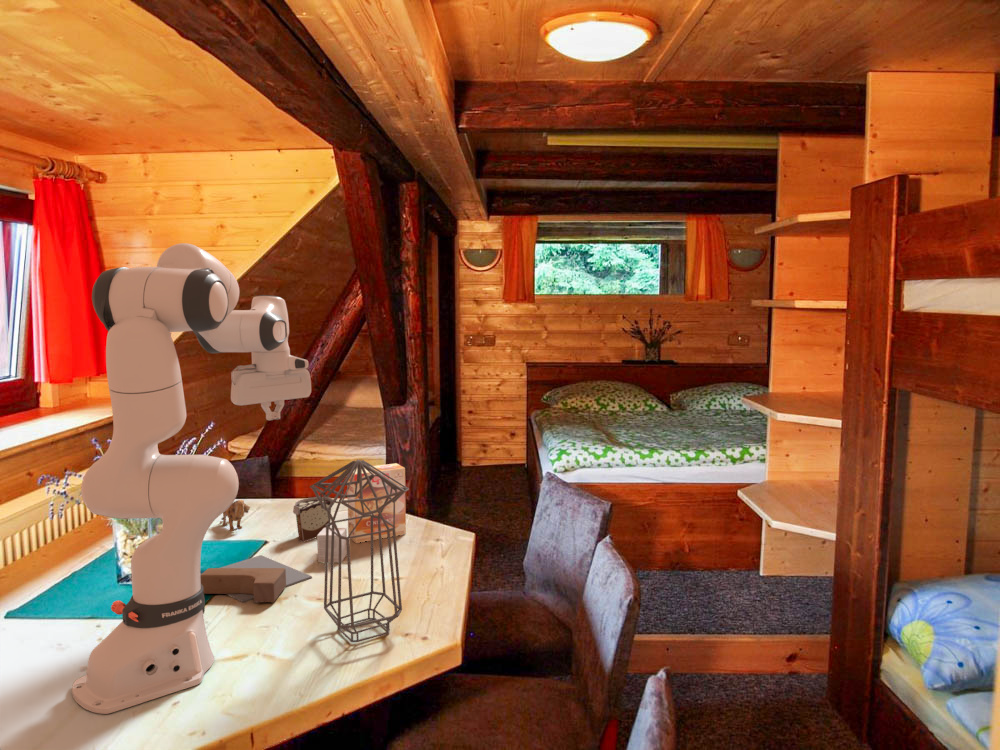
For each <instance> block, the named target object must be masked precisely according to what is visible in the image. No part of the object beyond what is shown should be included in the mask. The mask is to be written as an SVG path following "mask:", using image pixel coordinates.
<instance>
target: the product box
mask: <svg viewBox="0 0 1000 750" xmlns="http://www.w3.org/2000/svg"><path fill="white" fill-rule="evenodd" d="M330 528H331V529H332V527H330ZM337 528H338V530H339V532H340V534H341V536H344V537H348V535H347V533H348V530H347V527H337ZM334 531H335V532H336V530H335V528H334ZM336 533H337V532H336ZM331 538H332V531H331V530H330V529H329V538H328V564H331ZM316 540H317V541H316V542H317V544H316V545H317V561H318V562H325V549H326V528H323V529H322V531H321V532H320V533H319V534H318V535H317V538H316ZM345 558H347V545H346V540H344V539H342V557H341V563H342V562H343V561H344V559H345ZM329 562H330V563H329ZM335 563H336V564H337V563H338V564H339V537H338V536H336V535H335V534H334V559H333V564H335Z"/></svg>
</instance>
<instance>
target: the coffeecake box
mask: <svg viewBox="0 0 1000 750" xmlns="http://www.w3.org/2000/svg"><path fill="white" fill-rule="evenodd" d="M373 466H374V467H375V468H377V469H378V470H380V471H382V472H383V473H385V474H386V475H388V476H390V477H391V478H393V479H394V480H396V481H398V482H399V483H401V484H402V485H404V486H406V468H405V467H404V466H402V465H400V464H399V463H396V462H395V463H389V464H388V463H387V464H377V465H373ZM370 467H371V466H370ZM373 469H374V468H373ZM374 470H375V469H374ZM354 471H355V470H354ZM365 471H366V473H367V475H368V476H369V475H372V474H371V473H369V472H368V471H367V470H366V469H365ZM376 471H377V470H376ZM377 472H379V471H377ZM353 473H354V472H353ZM353 473H352V475H353ZM379 473H380V472H379ZM373 474H374V473H373ZM380 474H382V473H380ZM352 475H351V477H350V478H349V480H348V482H350V480H351V478H352ZM374 475H375V474H374ZM382 475H383V474H382ZM383 476H385V475H383ZM363 477H365V475H364V473H363V471H362V478H363ZM385 477H386V478H388V477H387V476H385ZM388 479H389V480H391V479H390V478H388ZM353 481H357V470H356V472H355V475H354V477H353V479H352V482H353ZM391 481H392V482H394V483H395V484H397V485H398V486H399V487H403V486H401V485H399V484H398V483H396V482H395V481H393V480H391ZM348 482H347V483H348ZM366 482H367V480H363V481H362V486H363V485H364V484H365V483H366ZM370 482H371V484H372V486H373V488H374V490H375V493H376V495H377V497H381V496H385V495H387V494H386V491H385V488H384V486H383V483H382V480H381V479H380V478H379V477H378V476H374V478H373V479H372V480H371V481H370ZM346 486H347V487H348V485H346ZM355 486H356V484H351V485H350V487H349V489H348V491H347V494H346V495H351V494H355ZM386 486H387V489H388V492H389V494H390V491H391V487H390V486H389V485H387V484H386ZM359 490H360V487H359V483H358V484H357V492H358V491H359ZM399 491H400V490H398V489H397V492H399ZM392 493H395V490H393V489H392ZM358 496H359V497H360V493H359V495H358ZM358 496H356V497H347V500H350V499H359V498H358ZM393 497H394V496H392V498H393ZM368 498H375V497H374V495H373V493H372V491H371V488H370V486H369V484H368V485H367V486H366V487H365V488H364V489H363V499H368ZM385 500H386V498H385V499H381V500H378V508H379V507H381V506H382V505H383V504H384V502H385ZM389 500H390V499H389ZM389 500H388V501H389ZM388 501H387V502H388ZM364 503H365V504H366V505H367V507H368V508H369V509H370V510H371V511H373V510H377V509H376V501H375V500H374V501H367V502H364ZM347 504H349V505H350V506H352V507H354V508H356V509H357V510H359V511H361V512H362V507H361V503H360V501H359V502H350V503H347ZM393 506H394V503H393V502H391V503H390V504H388V505H387V506H385V507H384V509H383V511H382V513H381V514H382V516H383V518H384V519H385V520H387V521H388V522H390V523H391V524H393ZM363 507H364V512H365V513H366V512H369V510H368V509H367V508H366V507H365V505H364V504H363ZM406 511H407V510H406V492H405V493H404V494H403V495H402V496H401V497H400V498H398V499H397V501H396V502H395V533H396V537H399V536H398V535H400V536H404V535H403V534H406V535H407V530H406V529H407V528H406V527H407V526H406V525H407V521H406V520H407V519H406V517H407V515H406ZM362 513H363V512H362ZM373 514H374V515H375V516H378V514H379V513H378V512H376V513H373ZM371 515H372V514H371ZM359 516H362V515H360V514H358V513H356V512H355V511H353V510H351V509H350V508H348V507H347V519H348V518H354V517H359ZM359 520H360V518H358V519H353V520H347V533H348V535H347V537H348V536H349V534H350V533H351V531H352V530H353V528H354V527H355V525H356V524H357V523H358V521H359ZM380 525H381V531H384V530H387V528H386V527H385V525H384V523H383V521H382V519H380ZM387 525H388V527H389V529H390V528H393V527H392V526H391V525H389V524H388V523H387ZM373 532H378V519H377V518H373ZM367 533H371V516H369V517H364V518H362V520H361V521H360V522H359V524H358V525H357V527H356V528H355V530H354V531H353V533H352V534H351V535H350V537H351V536H356V535H362V534H367ZM392 536H393V531H390V538H393V537H392ZM381 538H383V539H388V538H387V532H383V533H381ZM377 539H378V540H379V533H378V534H373V541H376V540H377ZM351 541H352V542H354V544H361V543H365V541H367V542H371V535H367V536H362V537H356V538H351ZM360 542H361V543H360Z"/></svg>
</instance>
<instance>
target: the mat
mask: <svg viewBox="0 0 1000 750" xmlns="http://www.w3.org/2000/svg"><path fill="white" fill-rule="evenodd" d="M220 568H285V570H286V587H285V588H287V586H288V587H289V586H290V587H291V586H292V585H296V584H299V583H301V581H302V582H304V581H307V580H309V578H310V579H312V578H313V576H312V575H310V574H307V573H305V572H303V571H300V570H298V569H295V568H293V567H290V566H288V565H286V564H283V563H282V562H278V561H276V560H274V559H272V558H269V557H267V556H265V555H262V554H261V555H257V556H254V557H250V558H247V559H243V560H241V561H237V562H235V563H230V564H227V565H225V566H221V567H220ZM202 573H203V572H202ZM202 573H201V572H200V576H201V574H202ZM306 579H307V580H306ZM298 582H299V583H298ZM295 583H296V584H295ZM226 595H227V596H230V597H232V598H233V599H235V600H237V601H238V602H241V603H245V602H248V601H250V600H254V595H251V594H226Z"/></svg>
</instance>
